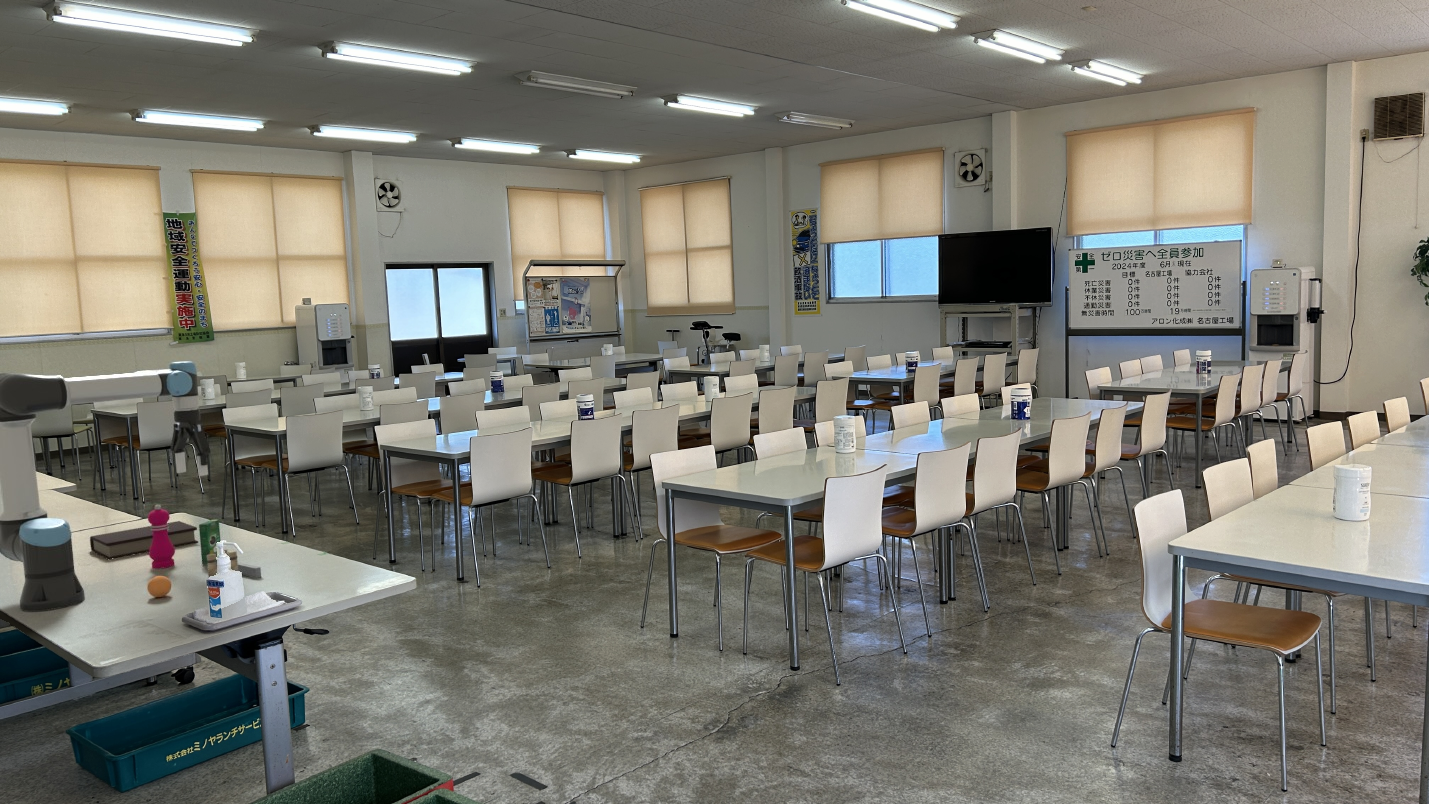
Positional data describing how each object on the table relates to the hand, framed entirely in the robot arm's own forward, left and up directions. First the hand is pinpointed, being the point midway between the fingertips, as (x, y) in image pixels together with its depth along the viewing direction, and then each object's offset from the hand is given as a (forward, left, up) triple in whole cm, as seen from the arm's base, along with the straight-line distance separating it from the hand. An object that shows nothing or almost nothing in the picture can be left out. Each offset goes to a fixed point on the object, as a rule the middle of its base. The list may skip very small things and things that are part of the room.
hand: (192, 474), depth 322 cm
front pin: (-15, -35, -28) cm, 47 cm away
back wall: (-5, -35, -28) cm, 45 cm away
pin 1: (-10, -33, -28) cm, 44 cm away
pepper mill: (-12, 0, -28) cm, 30 cm away
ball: (-30, -35, -25) cm, 53 cm away
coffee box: (-1, -9, -28) cm, 30 cm away
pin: (-10, -38, -28) cm, 48 cm away
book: (-1, +34, -28) cm, 44 cm away
